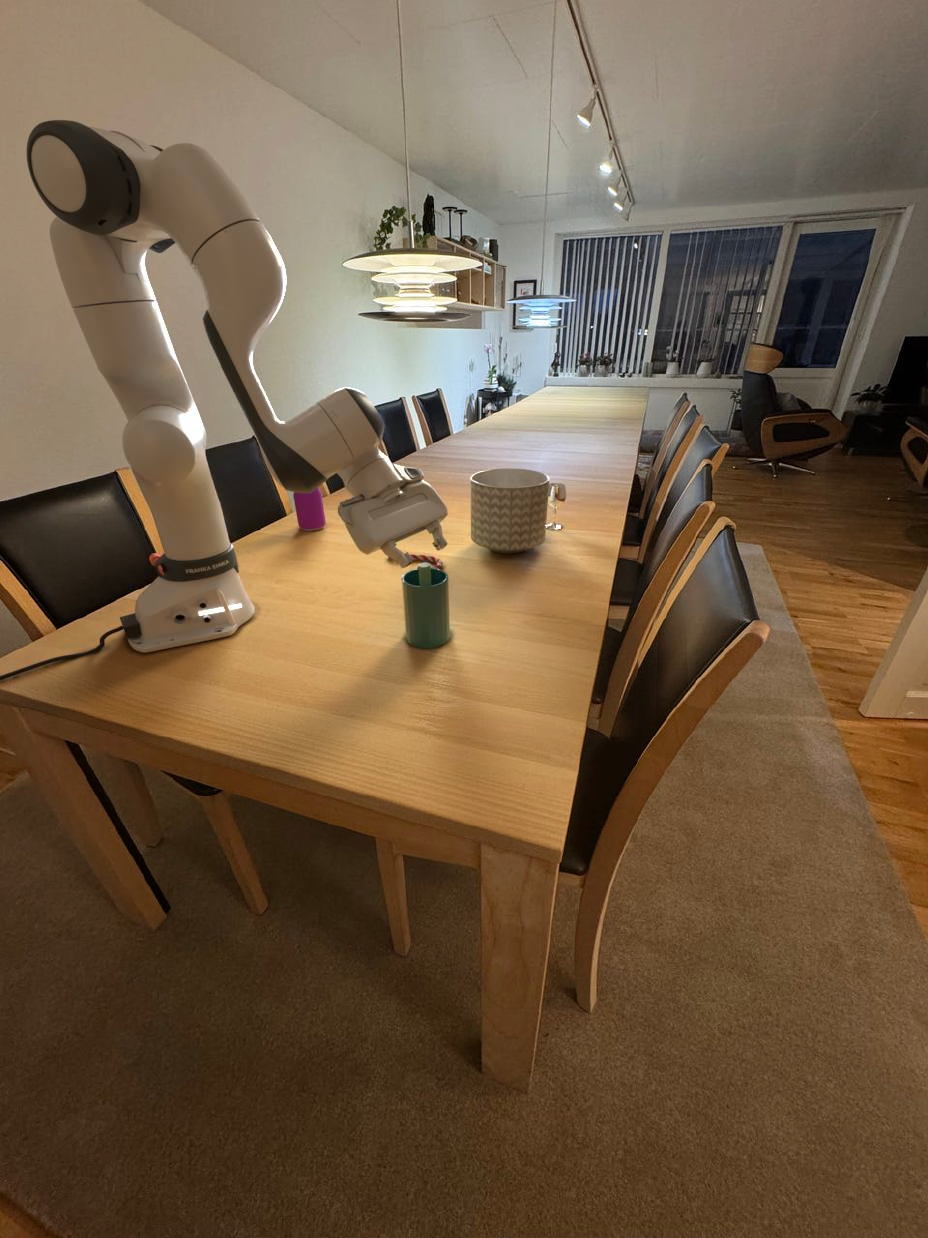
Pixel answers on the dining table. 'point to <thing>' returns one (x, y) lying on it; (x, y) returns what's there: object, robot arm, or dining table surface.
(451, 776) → the dining table surface
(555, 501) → the wineglass
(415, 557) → the candy cane
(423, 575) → the straw
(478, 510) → the planter
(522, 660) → the dining table surface
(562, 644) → the dining table surface
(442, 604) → the tin can
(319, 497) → the beverage can
